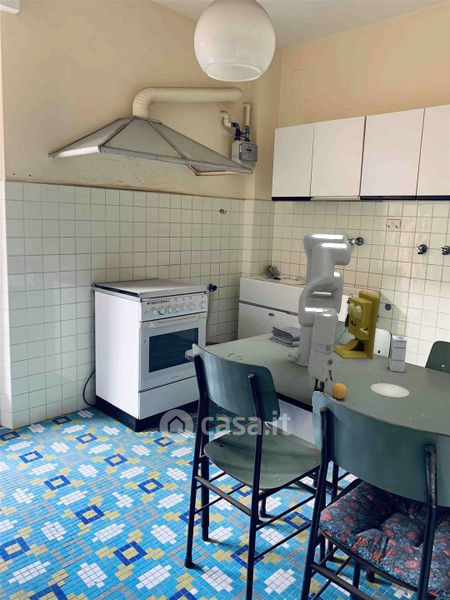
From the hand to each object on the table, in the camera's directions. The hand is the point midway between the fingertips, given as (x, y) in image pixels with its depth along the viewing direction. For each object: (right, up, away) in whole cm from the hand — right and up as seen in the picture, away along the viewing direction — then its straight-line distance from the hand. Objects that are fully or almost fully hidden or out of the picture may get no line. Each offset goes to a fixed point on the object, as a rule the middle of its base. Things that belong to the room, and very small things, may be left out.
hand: (318, 397), depth 160 cm
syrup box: (+42, +4, +39) cm, 58 cm away
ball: (+8, +2, +3) cm, 9 cm away
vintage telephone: (+28, +8, +62) cm, 68 cm away
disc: (+30, 0, +14) cm, 33 cm away
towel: (+1, +12, +77) cm, 78 cm away
